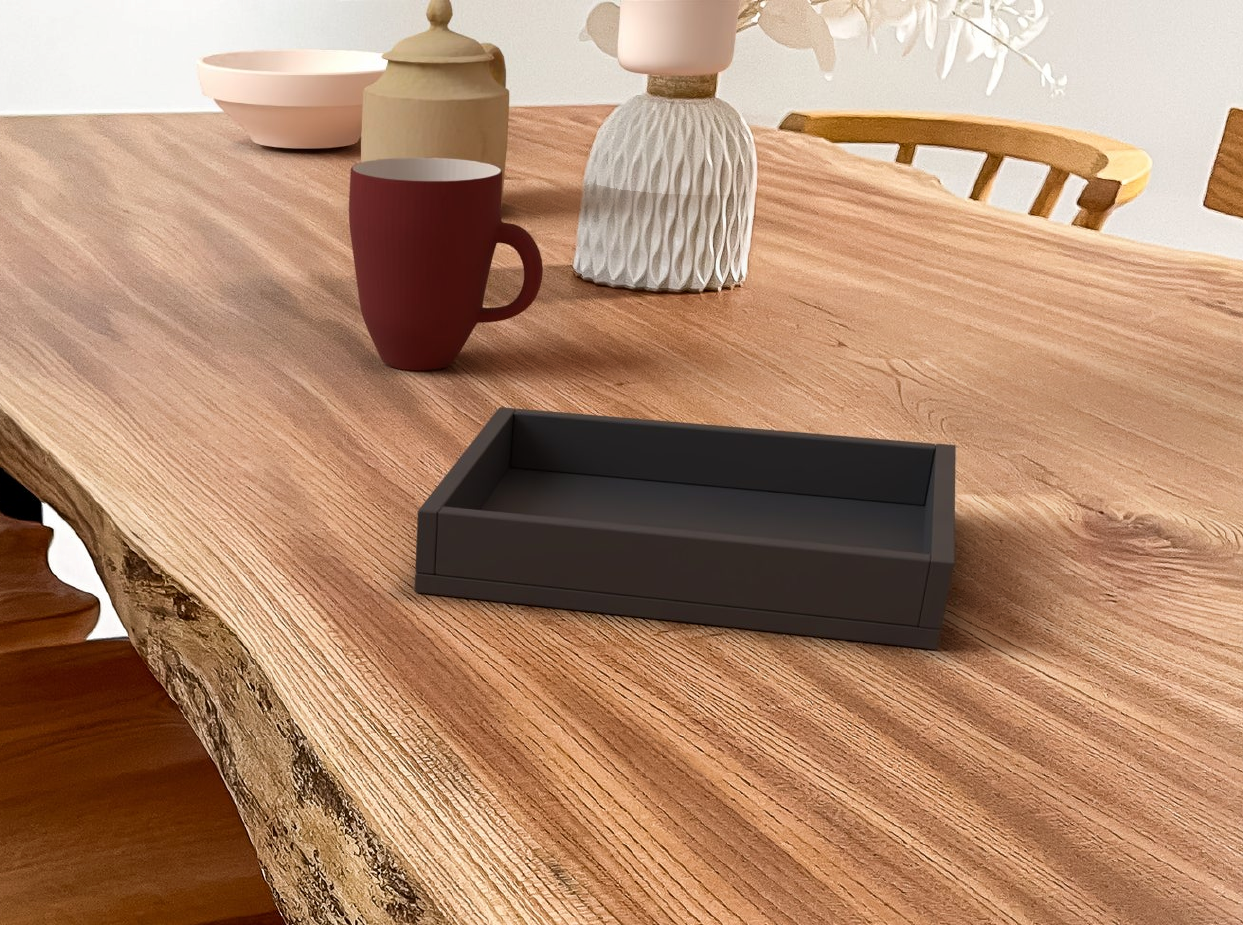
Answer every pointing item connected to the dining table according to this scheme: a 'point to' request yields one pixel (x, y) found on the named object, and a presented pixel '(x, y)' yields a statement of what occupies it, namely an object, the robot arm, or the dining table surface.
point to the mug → (431, 255)
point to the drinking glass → (677, 36)
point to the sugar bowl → (438, 98)
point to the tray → (698, 525)
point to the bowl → (293, 93)
